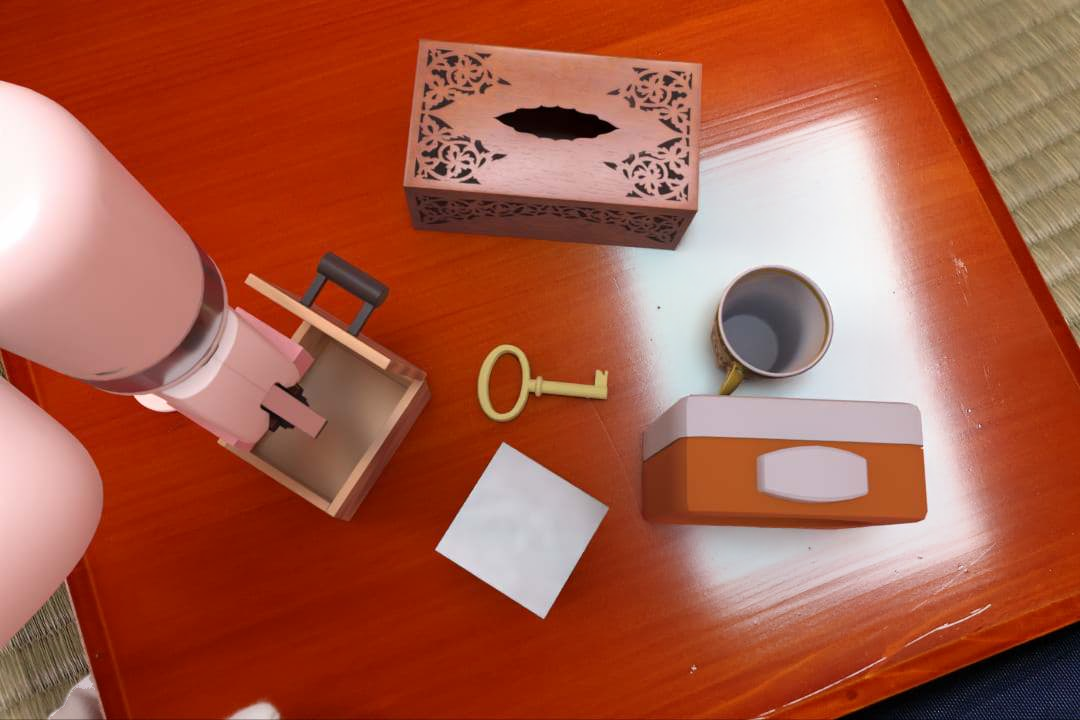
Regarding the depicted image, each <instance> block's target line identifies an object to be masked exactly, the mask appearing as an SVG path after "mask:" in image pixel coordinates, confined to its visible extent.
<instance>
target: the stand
mask: <svg viewBox="0 0 1080 720" xmlns="http://www.w3.org/2000/svg"><path fill="white" fill-rule="evenodd" d="M610 509H611V507H610V506H608V505H607V504H605V503H603V502H602V501H601V500H599V499H597V498H596V497H594V496H592V495H591V494H589V493H588V492H586V491H584V490H583V489H581V488H580V487H578V486H576V485H575V484H573V483H572V482H570V481H568V480H567V479H566V478H563V477H561V476H560V475H559V474H557V473H556V472H554V471H552V470H551V469H549V468H547V467H545V466H544V465H542V464H541V463H539V462H538V461H536V460H534V459H533V458H531V457H530V456H528V455H526V454H525V453H523V452H521V451H520V450H519V449H516V448H515V447H513V446H512V445H510V444H509V443H507V442H505V441H504V440H503V441H501V443H500V445H499V446H498V447H497V449H496V451H495V452H494V453H493V456H492V457H491V459H490V460H489V462H488V464H486V467H485V468H484V470H483V471H482V473H481V475H480V476H479V478H478V479H477V481H476V483H475V484H474V486H473V488H472V489H471V491H470V492H469V494H468V495H467V497H466V499H465V500H464V502H463V503H462V505H461V507H460V508H459V509H458V511H457V513H456V514H455V516H454V518H453V520H452V521H451V523H450V524H449V526H448V527H447V529H446V530H445V532H444V534H442V536H441V538H440V540H439V541H438V543H437V545H436V546H435V548H434V551H435V552H437V554H439V555H441V556H442V557H444V558H446V559H447V560H449V561H450V562H452V563H453V564H455V565H456V566H459V567H460V568H461V569H463V570H465V571H467V572H468V573H469V574H471V575H472V576H474V577H475V578H477V579H479V580H480V581H482V582H483V583H485V584H487V585H488V586H490V587H491V588H493V589H494V590H496V591H498V592H499V593H501V594H502V595H504V596H505V597H507V598H508V599H510V600H512V601H513V602H514V603H517V605H520V606H521V607H523V608H524V609H526V610H527V611H529V612H531V613H532V614H534V615H535V616H536V617H538V618H539V619H542V620H543V621H544V620H546V618H547V616H548V614H550V611H551V610H552V608H553V606H554V604H555V603H556V601H557V600H558V598H559V595H560V594H561V592H562V591H563V589H564V588H565V585H566V584H567V582H568V581H569V579H570V577H571V575H572V574H573V572H574V570H575V569H576V567H577V565H578V563H579V562H580V560H581V559H582V556H583V555H584V553H585V551H586V550H587V548H588V547H589V545H590V543H591V541H592V539H593V537H595V535H596V533H597V531H598V529H599V527H600V526H601V524H602V522H603V521H604V519H605V517H606V516H607V514H608V513H609V510H610Z"/></svg>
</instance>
